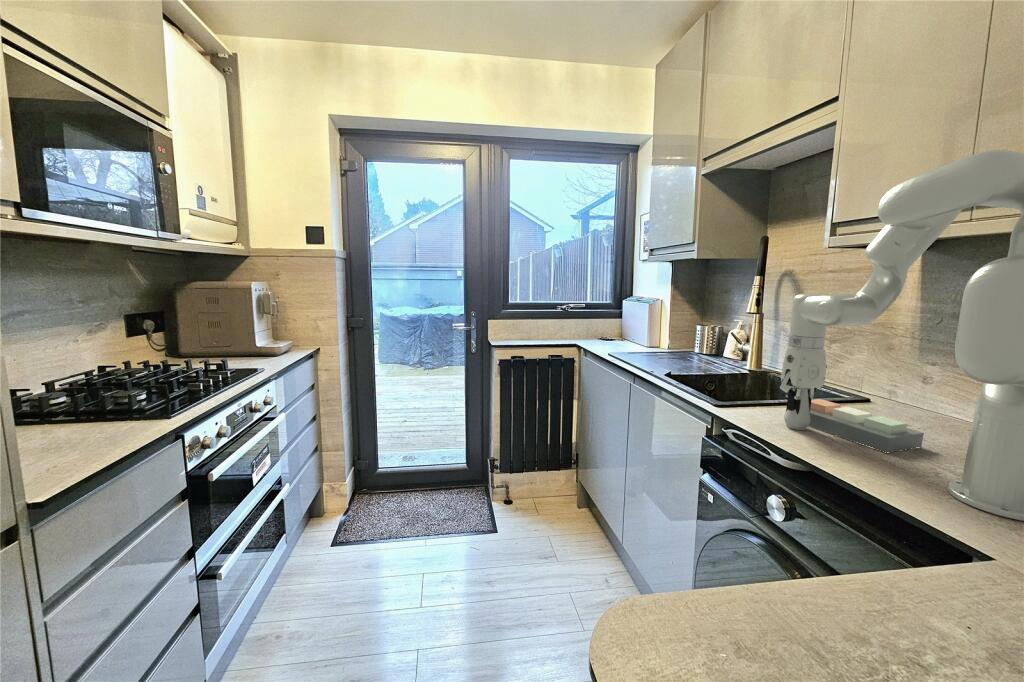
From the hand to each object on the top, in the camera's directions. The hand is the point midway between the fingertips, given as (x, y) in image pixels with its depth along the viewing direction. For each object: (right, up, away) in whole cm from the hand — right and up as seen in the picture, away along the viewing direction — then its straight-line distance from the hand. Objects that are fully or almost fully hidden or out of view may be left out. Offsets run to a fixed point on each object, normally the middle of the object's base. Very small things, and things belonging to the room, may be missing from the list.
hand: (797, 411), depth 111 cm
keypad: (+12, -5, -2) cm, 13 cm away
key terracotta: (+10, -2, +5) cm, 11 cm away
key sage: (+14, -4, -9) cm, 17 cm away
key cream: (+12, -3, -2) cm, 12 cm away
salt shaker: (0, -4, +1) cm, 4 cm away
